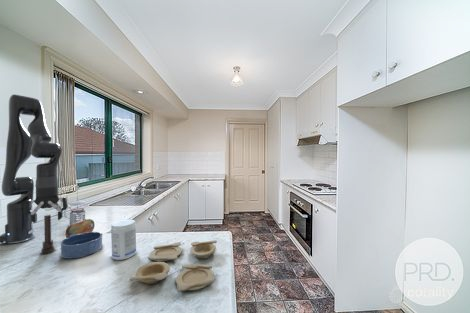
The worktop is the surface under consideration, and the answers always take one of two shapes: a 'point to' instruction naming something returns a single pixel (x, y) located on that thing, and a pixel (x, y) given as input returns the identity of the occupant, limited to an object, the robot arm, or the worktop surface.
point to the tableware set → (187, 278)
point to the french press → (76, 211)
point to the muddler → (47, 236)
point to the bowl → (81, 244)
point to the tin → (80, 227)
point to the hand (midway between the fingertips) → (47, 220)
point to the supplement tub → (123, 239)
